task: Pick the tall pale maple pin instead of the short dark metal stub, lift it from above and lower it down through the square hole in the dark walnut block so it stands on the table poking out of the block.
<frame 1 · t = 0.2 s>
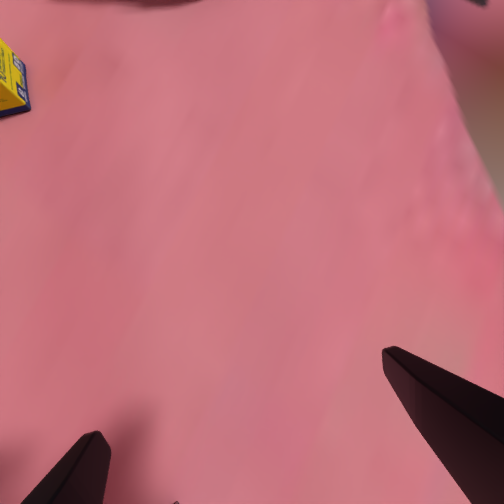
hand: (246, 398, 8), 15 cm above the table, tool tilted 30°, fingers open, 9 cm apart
supplement box: (3, 95, 28), on the table
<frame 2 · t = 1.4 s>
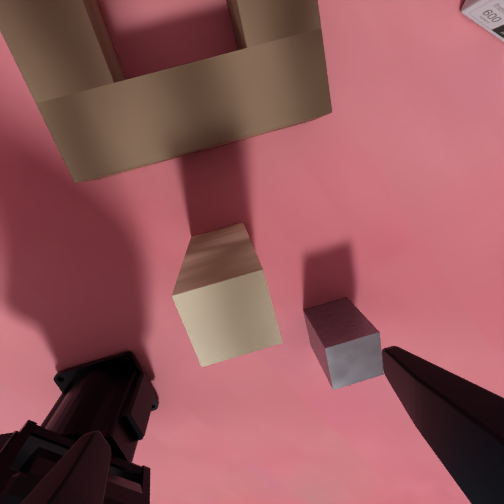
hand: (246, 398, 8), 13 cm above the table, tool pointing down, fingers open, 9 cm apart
maple pin: (224, 253, 20), on the table
walnut sleeve block: (166, 12, 15), on the table
metal stub: (328, 321, 24), on the table
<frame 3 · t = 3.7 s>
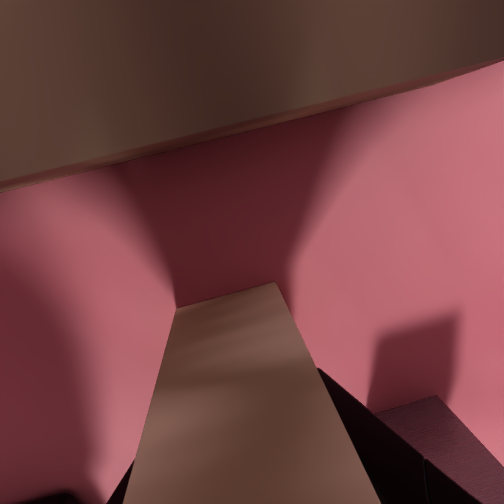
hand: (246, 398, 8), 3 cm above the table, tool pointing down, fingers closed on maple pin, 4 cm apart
maple pin: (238, 335, 11), on the table, touching gripper
metal stub: (401, 430, 14), on the table
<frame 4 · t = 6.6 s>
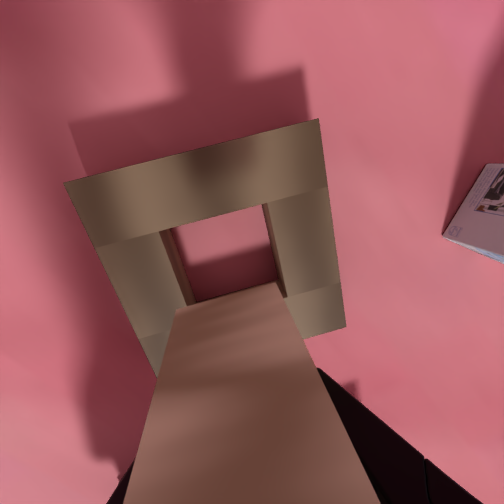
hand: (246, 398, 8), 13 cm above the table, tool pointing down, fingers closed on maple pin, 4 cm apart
maple pin: (238, 336, 11), point 10 cm above the table, touching gripper
walnut sleeve block: (226, 252, 20), on the table
light bulb box: (503, 221, 23), on the table
when the fingers open (4 cm above the table, at t = 9.4 s): maple pin drops 1 cm, resting in walnut sleeve block.
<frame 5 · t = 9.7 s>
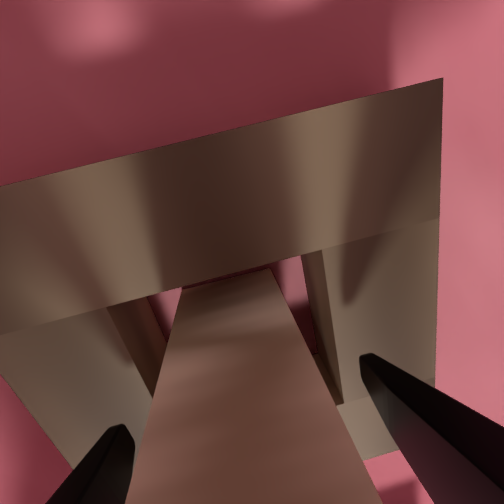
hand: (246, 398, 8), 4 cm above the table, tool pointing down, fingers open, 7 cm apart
maple pin: (236, 316, 12), resting in walnut sleeve block
walnut sleeve block: (236, 315, 12), on the table
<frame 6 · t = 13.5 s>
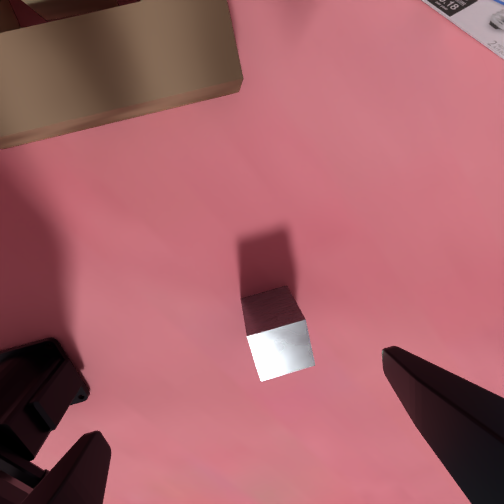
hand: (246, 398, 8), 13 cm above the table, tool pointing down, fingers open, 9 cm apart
metal stub: (269, 311, 23), on the table
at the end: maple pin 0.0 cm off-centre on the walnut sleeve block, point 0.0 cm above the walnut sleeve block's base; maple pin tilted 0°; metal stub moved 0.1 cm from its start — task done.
